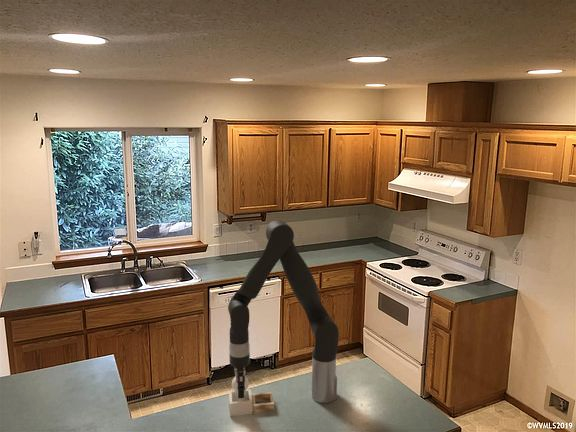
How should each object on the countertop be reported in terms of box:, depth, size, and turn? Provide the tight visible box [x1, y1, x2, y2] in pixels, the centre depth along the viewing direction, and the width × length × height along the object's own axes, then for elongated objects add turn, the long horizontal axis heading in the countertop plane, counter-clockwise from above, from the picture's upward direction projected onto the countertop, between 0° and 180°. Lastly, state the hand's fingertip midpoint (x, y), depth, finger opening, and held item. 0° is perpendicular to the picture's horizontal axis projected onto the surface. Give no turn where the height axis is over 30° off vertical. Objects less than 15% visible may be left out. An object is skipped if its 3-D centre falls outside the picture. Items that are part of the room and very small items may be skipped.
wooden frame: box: [251, 391, 276, 414], centre depth 176 cm, size 8×8×3 cm
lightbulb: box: [231, 375, 250, 401], centre depth 173 cm, size 6×6×11 cm
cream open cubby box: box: [228, 388, 254, 417], centre depth 174 cm, size 8×8×5 cm
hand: (240, 392), depth 173 cm, fingers closed on lightbulb, 6 cm apart
